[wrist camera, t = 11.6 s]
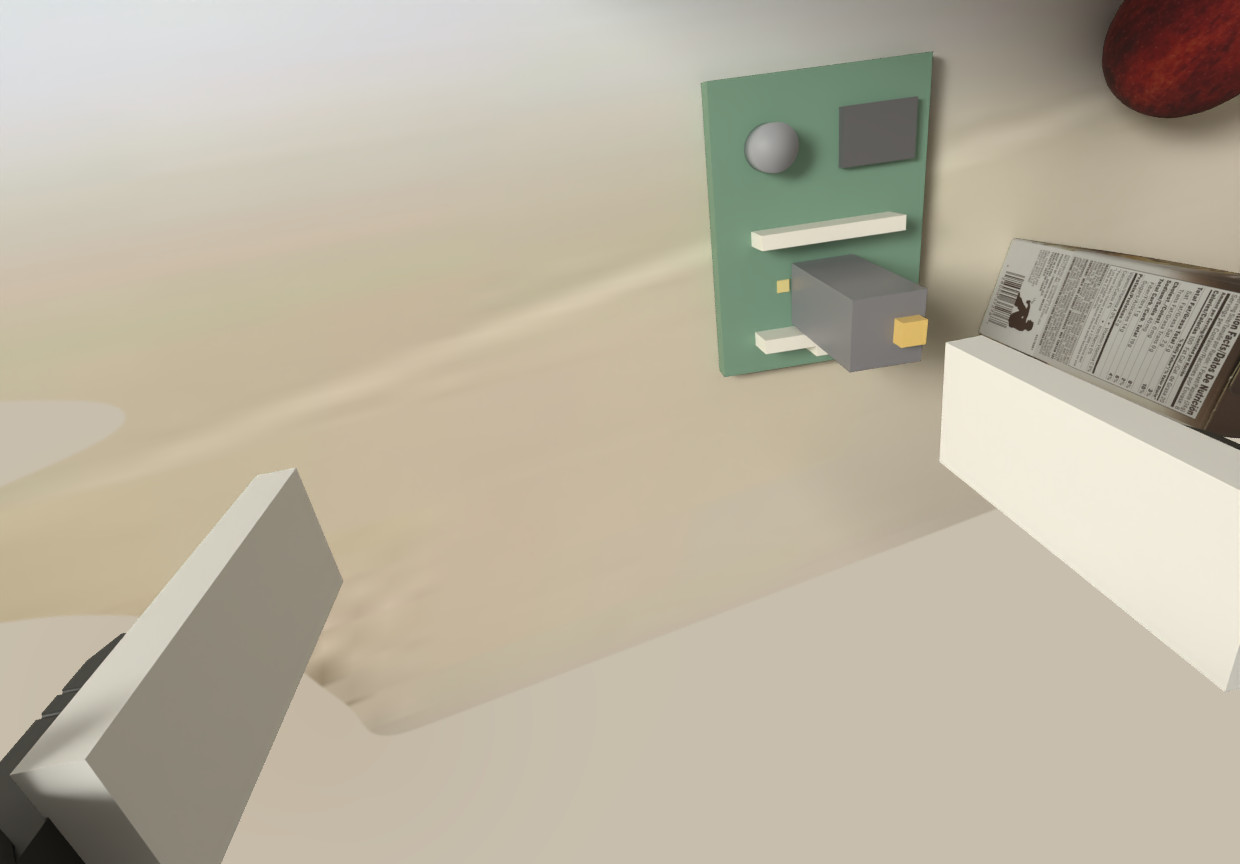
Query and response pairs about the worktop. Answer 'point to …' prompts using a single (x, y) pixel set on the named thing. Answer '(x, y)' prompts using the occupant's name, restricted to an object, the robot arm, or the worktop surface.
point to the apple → (1173, 55)
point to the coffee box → (1126, 327)
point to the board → (809, 190)
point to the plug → (859, 312)
